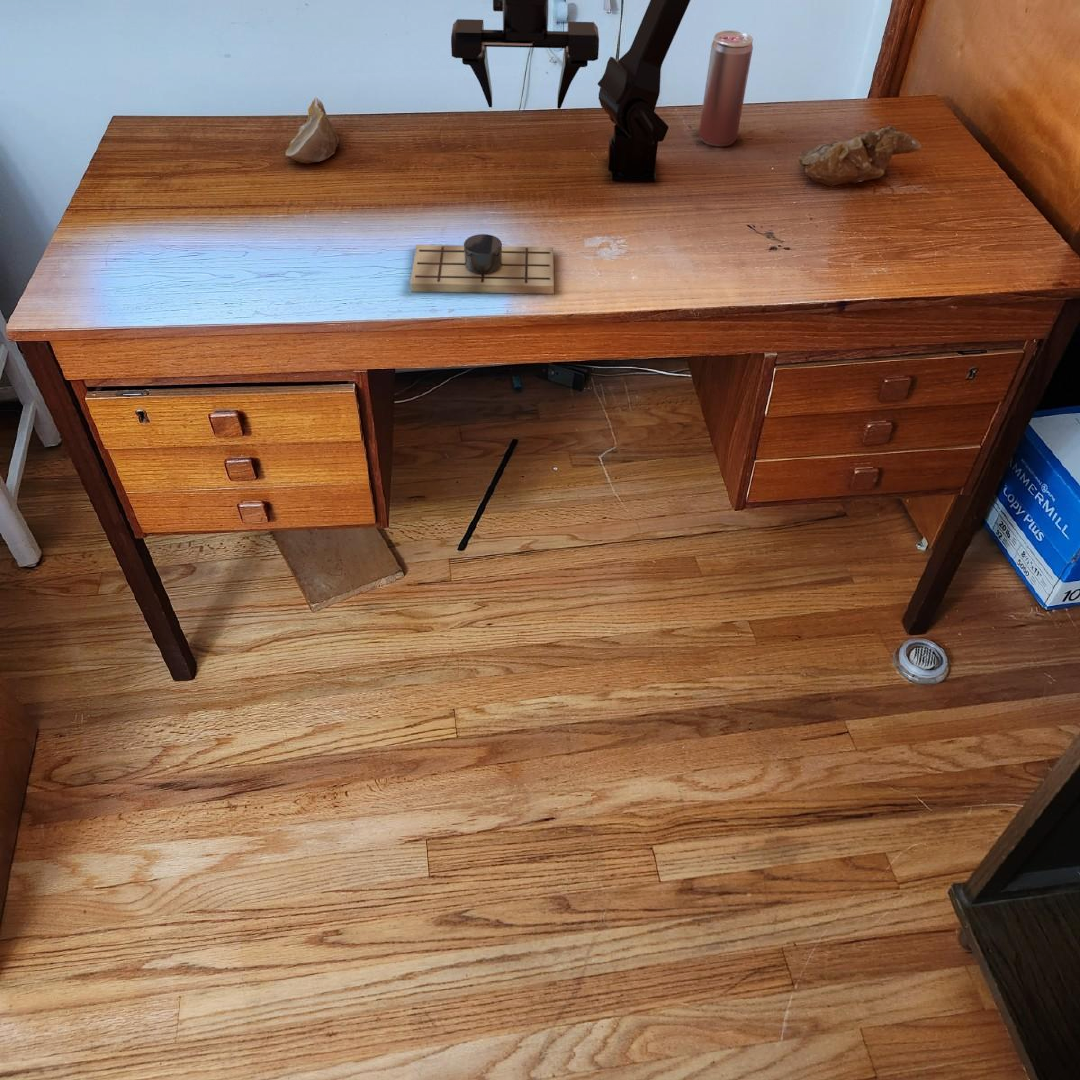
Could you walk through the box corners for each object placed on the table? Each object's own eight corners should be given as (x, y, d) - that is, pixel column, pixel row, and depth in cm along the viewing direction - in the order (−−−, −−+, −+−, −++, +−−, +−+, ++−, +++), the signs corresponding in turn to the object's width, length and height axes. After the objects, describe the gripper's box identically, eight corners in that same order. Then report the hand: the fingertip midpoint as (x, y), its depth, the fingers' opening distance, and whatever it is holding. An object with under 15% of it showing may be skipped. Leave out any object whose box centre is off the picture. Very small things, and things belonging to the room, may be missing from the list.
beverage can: (698, 128, 152) (713, 28, 141) (736, 131, 152) (754, 31, 141) (697, 146, 148) (712, 44, 137) (736, 149, 148) (754, 47, 137)
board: (553, 255, 127) (553, 246, 126) (553, 293, 121) (553, 284, 120) (417, 252, 127) (416, 243, 126) (410, 291, 121) (410, 282, 120)
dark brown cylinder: (502, 253, 125) (502, 234, 122) (501, 274, 121) (501, 254, 119) (465, 253, 124) (464, 233, 122) (463, 273, 121) (462, 254, 119)
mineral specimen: (849, 202, 151) (788, 192, 142) (844, 155, 150) (783, 143, 141) (925, 174, 140) (865, 162, 131) (920, 124, 140) (859, 108, 131)
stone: (286, 127, 136) (300, 76, 145) (282, 167, 140) (296, 115, 150) (337, 140, 137) (347, 89, 147) (331, 180, 142) (341, 128, 152)
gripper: (598, -42, 123) (591, 82, 135) (453, -45, 123) (459, 80, 135) (602, -10, 116) (594, 118, 127) (448, -14, 115) (454, 115, 127)
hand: (524, 106), depth 129 cm, fingers open, 9 cm apart
